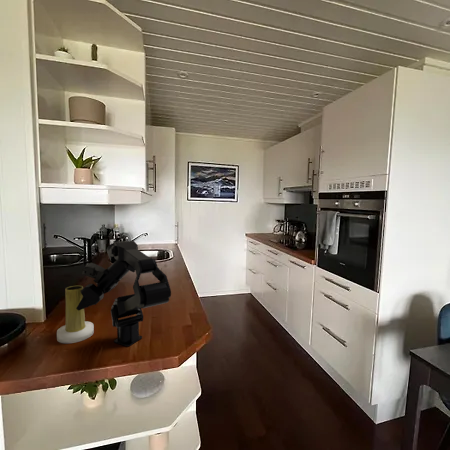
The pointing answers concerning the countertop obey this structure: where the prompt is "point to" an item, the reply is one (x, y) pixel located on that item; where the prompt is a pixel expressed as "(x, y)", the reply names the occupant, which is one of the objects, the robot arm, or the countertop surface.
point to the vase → (74, 309)
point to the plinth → (75, 334)
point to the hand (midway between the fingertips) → (83, 304)
